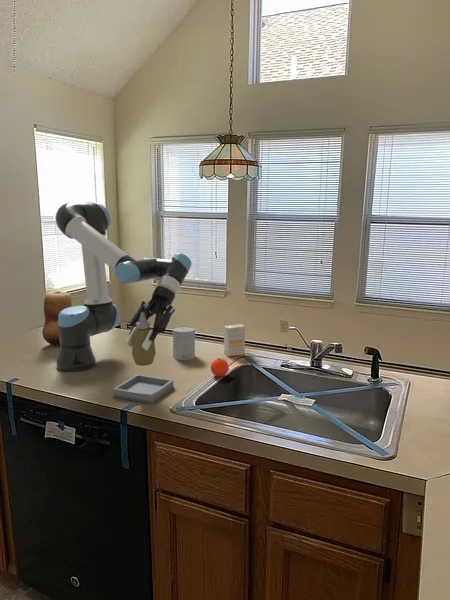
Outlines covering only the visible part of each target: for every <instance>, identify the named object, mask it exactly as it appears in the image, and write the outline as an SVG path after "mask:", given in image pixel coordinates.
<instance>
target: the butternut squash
mask: <svg viewBox="0 0 450 600" xmlns="http://www.w3.org/2000/svg"><path fill="white" fill-rule="evenodd" d="M69 307H73V306H72V296H71V294H70V293H68V292H65V291H62V290H53V291H49V292H48V293H46V294H45V296H44V301H43V312H44V315H43V316H44V324H43V328H42V331H41V333H42V337H43V339H44V340H45V342H46V343H48V344H49V345H50V346H53V347H55V346H56V345H57V346H60V338H59V325H58V315H59V313H60V312H61V311H62V310H64V309H66V308H69ZM57 346H56V347H57Z"/></svg>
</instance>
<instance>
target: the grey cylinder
mask: <svg viewBox="0 0 450 600" xmlns="http://www.w3.org/2000/svg"><path fill="white" fill-rule="evenodd" d="M172 358H173V359H174V360H177V361H190V360H193V359H195V358H196V328H195V327H193V326H187V325H185V326H184V325H183V326H181V325H180V326H175V327H174V328H172Z"/></svg>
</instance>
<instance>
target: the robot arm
mask: <svg viewBox="0 0 450 600" xmlns="http://www.w3.org/2000/svg"><path fill="white" fill-rule="evenodd" d="M55 224H56V226H57V228H58V229H59V231H60V232H61V233H62V234H63V235H64V236H66V237H67V238H69V239H70V240H75V241H76V242H78V243H79V244H80V245H81V253H82V261H83V271H84V280H85V289H86V299H85V300H84V302H83V305H75V306H72V307H69V308H66V309H64V310H62V311H61V312H60V313H59V315H58V325H59V338H60V345H59V352H58V355H57V359H56V361H55V362H56V365H55V366H56V368H57V370H59V371H63V372H80V371H86V370H89V369H92V368H94V367H95V366H96V364H97V362H96V361H97V360H96V359H97V358H96V357H95V354H94V352H93V349H92V346H91V337H93V336H97V335H99V334H103V333H107V332H110V331H112V330H114V329H115V328H116V327H117V326H118V324H119V322H120V319H121V318H120V316H121V315H120V310H119V308H117V305H116V304H115V303H114V302H113V299H112V298H111V297H109V292H108V280H107V271H106V270H107V269H106V265H107V266H108V267H109V268H111V269H112V270H114V275H115V277H116V278H117V280H118V282H119V283H121V284H123V285H125V284H134V283H140V282H143V281H149V280H154V279H160V280H159V281H158V284H157V286H156V287H155V289H154V291H153V292H152V295H151V299H150V300H149V301H147V302H145V301H144V300H142V301H141V303H140V306H139V308H138V310H137V311H136V312H135V314H134V315H133V317H132V319H131V320H130V322H129V325H131V327H132V328H131V330H130V332H129V334H128V337H127V340H126V342H125V344H126V345H127V346H128V347H129V348H132V344H133V331H134V330H135V329H136V323H137V322H139V320H140V314H141V312H144V313H145V317H146V321H147V322H148V320H149V319H150V318H151V317H153V316H154V315H155V317H154V323H153V327H151V329H152V330H150V331H149V333H148V335H147V337H146V339H145V341H144V343H143V344H142V347H143V348H144V349H145V350H146V351H147V350H148V348H149V347H150V345H151V343H152V341H154V342H155V340H156V338H157V337H158V335H159V334H160V333H161V334H164V333H165V331H166V329H167V327H168V324H169V322H170V320H171V317H172V315H173V313H174V312H175V311H176V310H175V308H174V307H173V305H172V304H173V302H174V300H175V298H176V295H177V294H178V292H179V290H180V288H181V286H182V284H183V282H184V280H185V279H186V277H187V275H188V274H189V271H190V269H191V267H192V261H191V258H190V257H188V256H187V255H186V254H184V253H181V252H177V253H175V254H173V256H172V257H171V258H159V257H158V258H157V257H152V256H151V257H143V258H142V259H139V260H136V259H135V258H133V257H131V256H130V255H129V254H128V253H126V252H125V251H124V250H122V249H121V248H120V247H119V246H117V245H116V244H115V243H113V242H112V241H110V239H109V238H107V237H106V236H107V232H106V231H107V230H108V229H109V227H110V225H111V214H110V213H109V210H108V209H107V208H106V207H105V205H104V204H101V203H99V202H74V201H73V202H66V203H64V204H62V205H61V206H59V208H58V209H57V211H56V213H55Z"/></svg>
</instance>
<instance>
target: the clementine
mask: <svg viewBox="0 0 450 600" xmlns="http://www.w3.org/2000/svg"><path fill="white" fill-rule="evenodd" d="M229 368H230V367H229V364H228V361H227V359H226V358H224V357H220V358H215V359H214V360H212V362H211V364H210V371H211V373H212V374H213V375H214V376H216V377H224V376H226V374H228V372H229Z"/></svg>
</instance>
